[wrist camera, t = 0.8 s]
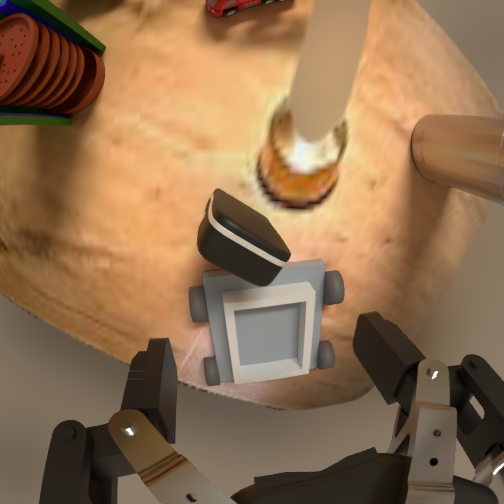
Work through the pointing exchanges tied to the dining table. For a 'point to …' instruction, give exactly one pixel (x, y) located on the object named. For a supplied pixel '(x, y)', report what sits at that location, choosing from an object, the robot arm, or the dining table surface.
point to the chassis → (266, 322)
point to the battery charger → (241, 240)
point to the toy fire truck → (232, 6)
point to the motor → (45, 64)
